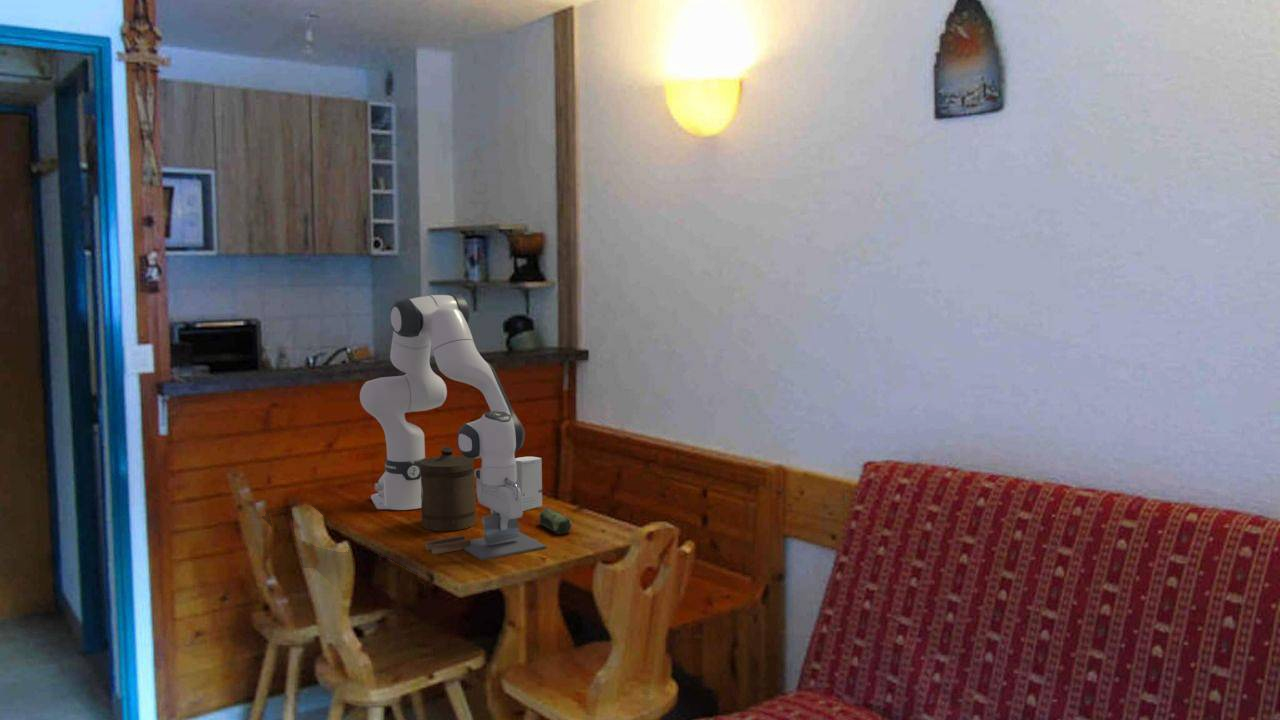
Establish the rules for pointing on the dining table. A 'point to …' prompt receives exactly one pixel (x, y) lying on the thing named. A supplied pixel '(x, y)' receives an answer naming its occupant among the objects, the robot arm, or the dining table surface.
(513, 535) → the tile
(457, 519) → the wooden container
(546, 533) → the dining table surface
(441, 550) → the holder
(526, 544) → the mat
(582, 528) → the dining table surface
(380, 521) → the dining table surface
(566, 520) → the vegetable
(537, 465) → the skincare box
